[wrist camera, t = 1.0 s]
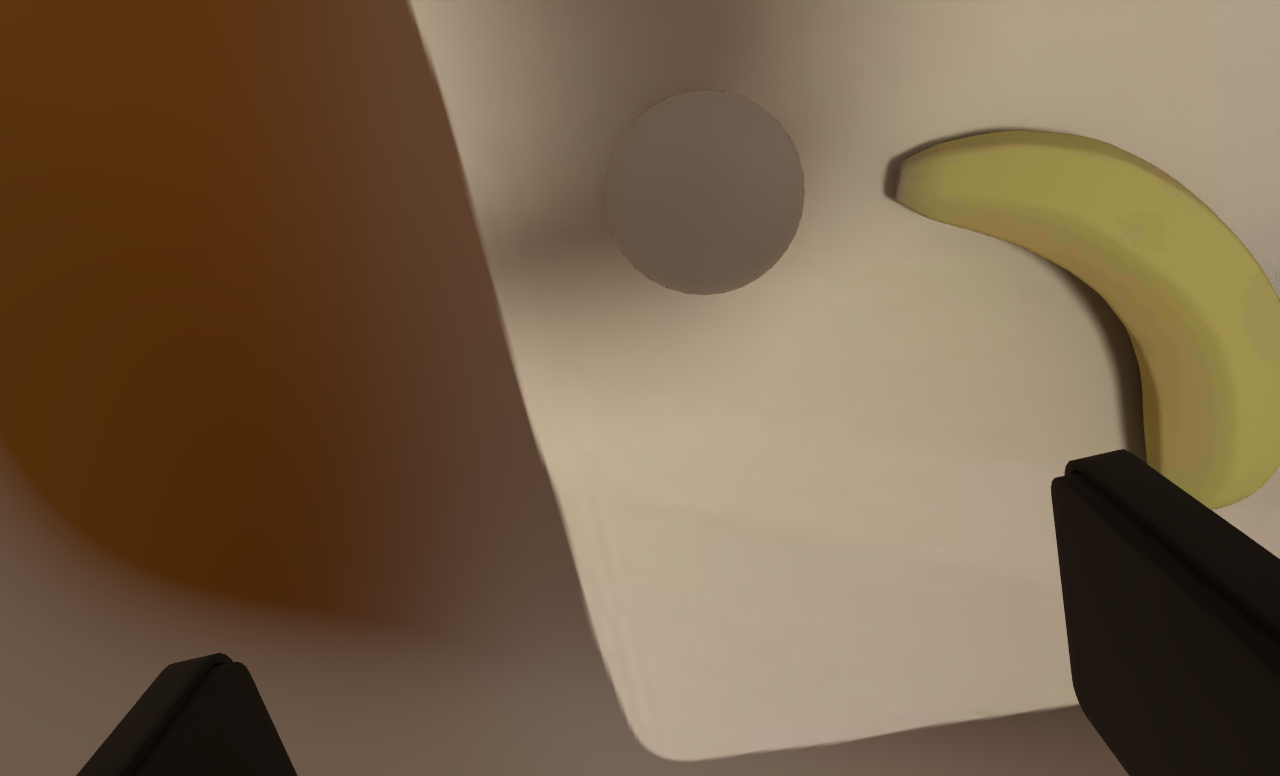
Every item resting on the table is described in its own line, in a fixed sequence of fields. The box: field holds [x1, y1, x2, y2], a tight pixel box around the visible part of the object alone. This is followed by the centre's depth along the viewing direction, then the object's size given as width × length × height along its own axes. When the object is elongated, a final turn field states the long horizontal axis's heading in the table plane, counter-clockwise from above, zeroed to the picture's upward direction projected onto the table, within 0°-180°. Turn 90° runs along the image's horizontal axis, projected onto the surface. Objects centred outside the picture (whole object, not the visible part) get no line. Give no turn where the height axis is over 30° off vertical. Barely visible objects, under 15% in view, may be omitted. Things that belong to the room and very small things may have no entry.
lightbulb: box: [604, 90, 805, 295], centre depth 29 cm, size 6×6×11 cm
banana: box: [894, 131, 1280, 510], centre depth 35 cm, size 14×6×20 cm
